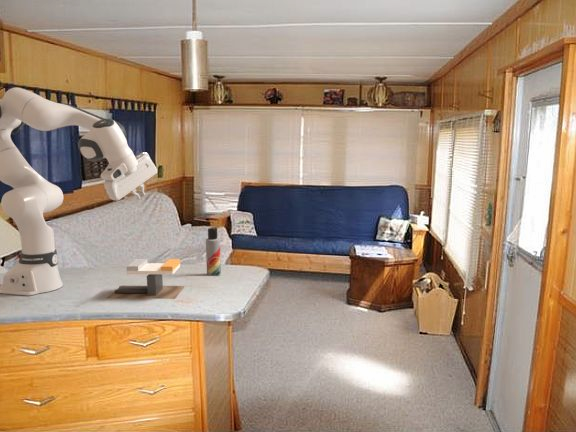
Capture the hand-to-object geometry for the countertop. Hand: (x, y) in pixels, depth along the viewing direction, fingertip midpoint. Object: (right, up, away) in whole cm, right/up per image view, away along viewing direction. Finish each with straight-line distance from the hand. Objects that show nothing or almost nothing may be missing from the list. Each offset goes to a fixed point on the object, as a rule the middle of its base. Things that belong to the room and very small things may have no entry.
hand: (141, 197), depth 177 cm
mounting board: (+3, -35, -2) cm, 36 cm away
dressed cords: (-2, -34, -2) cm, 34 cm away
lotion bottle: (+23, -31, +23) cm, 45 cm away
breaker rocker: (+6, -27, -3) cm, 28 cm away
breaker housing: (+6, -34, -2) cm, 35 cm away
